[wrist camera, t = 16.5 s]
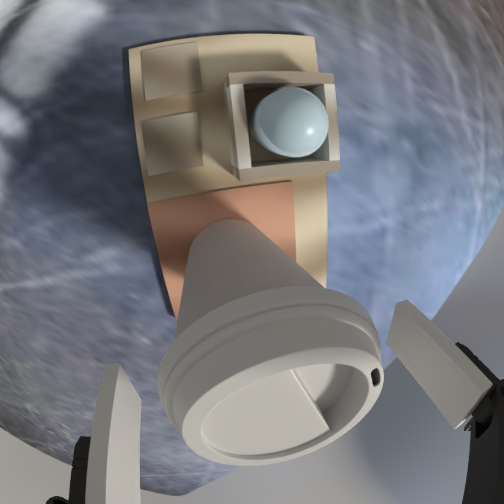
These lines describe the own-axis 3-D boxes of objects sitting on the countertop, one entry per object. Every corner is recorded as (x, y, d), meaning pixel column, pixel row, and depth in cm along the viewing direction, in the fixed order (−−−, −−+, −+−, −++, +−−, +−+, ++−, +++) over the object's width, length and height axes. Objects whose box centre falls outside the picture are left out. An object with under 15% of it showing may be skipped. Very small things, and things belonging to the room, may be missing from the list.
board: (130, 52, 15) (119, 35, 12) (309, 39, 17) (332, 24, 14) (177, 318, 25) (177, 347, 21) (322, 289, 27) (340, 312, 23)
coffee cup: (286, 299, 25) (368, 438, 12) (180, 315, 23) (190, 481, 10) (287, 193, 21) (430, 292, 8) (160, 206, 20) (113, 353, 6)
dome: (245, 95, 17) (264, 82, 12) (306, 93, 17) (339, 84, 13) (252, 156, 18) (271, 163, 14) (311, 151, 19) (344, 158, 15)
